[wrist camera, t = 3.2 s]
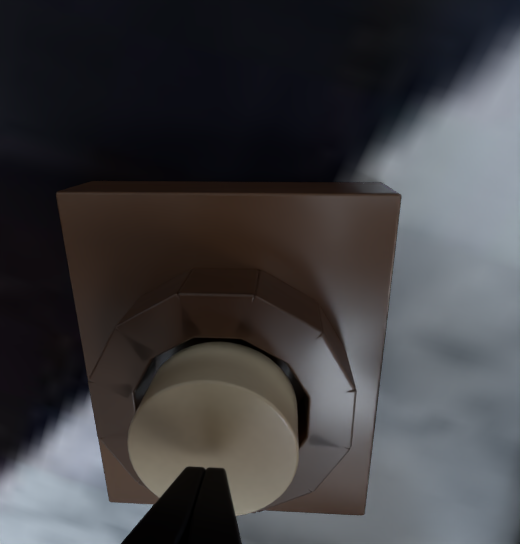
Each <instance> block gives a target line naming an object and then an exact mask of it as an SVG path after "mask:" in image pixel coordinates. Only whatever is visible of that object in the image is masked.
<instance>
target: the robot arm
mask: <svg viewBox="0 0 520 544" xmlns="http://www.w3.org/2000/svg"><path fill="white" fill-rule="evenodd" d="M121 544H242V543H241V538H240V533H239V529H238V524H237V520H236V515H235V510H234V506H233V501H232V497H231V492H230V488H229V483H228V478H227V474H226V470H225V469H224V468H216V467H208V468H207V469H205V468H204V467H195V466H188V467H186V468H185V469H184V470H183V471H182V472H181V473H180V475H179V476H178V477H177V478H176V479H175V480H174V482H173V483H172V484H171V485H170V486H169V488H168V489H167V490H166V491H165V492H164V493H163V495H162V496H161V497H160V498H159V499H158V501H157V502H156V503H155V504H154V505H153V506H152V508H151V509H150V510H149V511H148V512H147V513H146V515H145V516H144V517H143V518H142V519H141V521H140V522H139V523H138V524H137V525H136V526H135V528H134V529H133V530H132V531H131V532H130V534H129V535H128V536H127V537H126V538H125V539H124V541H123V542H122V543H121Z"/></svg>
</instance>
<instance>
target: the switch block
mask: <svg viewBox="0 0 520 544" xmlns="http://www.w3.org/2000/svg"><path fill="white" fill-rule="evenodd" d="M56 198H57V204H58V210H59V216H60V221H61V227H62V233H63V239H64V244H65V250H66V256H67V262H68V267H69V273H70V279H71V285H72V290H73V296H74V302H75V307H76V313H77V319H78V325H79V330H80V336H81V342H82V348H83V353H84V359H85V365H86V371H87V376H88V384H89V390H90V396H91V401H92V407H93V413H94V419H95V424H96V430H97V436H98V439H99V445H100V451H101V457H102V462H103V468H104V474H105V480H106V485H107V491H108V497H109V501H110V502H118V503H136V504H155V503H156V502H157V501H158V499H159V497H158V496H156V495H155V494H154V493H153V492H152V491H150V490H149V488H148V487H147V486H146V485H145V484H144V483H143V482H142V481H141V479H140V478H139V477H138V475H137V473H136V471H135V470H134V468H133V465H132V463H131V460H130V457H129V452H128V441H127V439H128V430H129V427H130V423H131V421H132V419H133V416H134V414H135V412H136V410H137V409H138V407H139V405H140V403H141V401H142V399H143V397H144V395H145V393H146V391H147V390H148V388H149V386H150V384H151V382H152V380H153V378H154V376H155V374H156V373H157V371H158V370H159V368H160V367H161V366H162V365H163V363H164V362H165V361H166V360H167V359H169V358H170V357H171V356H172V355H174V354H175V353H177V352H179V351H181V350H182V349H185V348H187V347H190V346H192V345H196V344H200V343H206V342H231V343H236V344H241V345H244V346H247V347H250V348H252V349H254V350H256V351H259V352H260V353H262V354H264V355H265V356H267V357H268V358H270V359H271V360H272V361H273V362H275V363H276V364H277V365H278V366H279V367H280V368H281V369H282V370H283V372H284V373H285V374H286V376H287V377H288V379H289V381H290V382H291V384H292V386H293V389H294V392H295V395H296V399H297V413H298V440H299V461H298V467H297V470H296V474H295V476H294V478H293V480H292V482H291V484H290V485H289V486H288V488H287V489H286V491H285V492H284V493H283V494H282V495H281V496H280V497H279V498H278V499H276V500H275V501H274V502H272V503H271V504H269V505H267V506H266V507H264V508H262V509H260V510H257V511H255V512H252V513H256V512H261V511H264V510H268V511H287V512H306V513H324V514H343V515H364V514H365V506H366V498H367V489H368V480H369V472H370V463H371V455H372V446H373V437H374V429H375V420H376V411H377V403H378V394H379V386H380V377H381V368H382V360H383V351H384V343H385V334H386V325H387V317H388V308H389V299H390V291H391V282H392V274H393V265H394V256H395V248H396V239H397V230H398V222H399V213H400V205H401V194H399V193H398V192H396V191H394V190H393V189H391V188H390V187H388V186H386V185H385V184H383V183H381V182H193V181H91V182H88V183H84V184H81V185H78V186H74V187H71V188H67V189H64V190H60V191H58V192H56Z"/></svg>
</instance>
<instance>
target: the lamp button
mask: <svg viewBox="0 0 520 544" xmlns="http://www.w3.org/2000/svg"><path fill="white" fill-rule="evenodd" d="M127 441H128V452H129V457H130V460H131V463H132V465H133V468H134V470H135V471H136V473H137V475H138V477H139V478H140V479H141V481H142V482H143V483H144V484H145V485H146V486H147V487H148V488H149V490H150V491H152V492H153V493H154V494H155V495H156V496H158V497H159V498H160V497H161V496H162V495H163V493H164V492H165V491H166V490H167V489H168V488H169V486H170V485H171V484H172V483H173V482H174V480H175V479H176V478H177V477H178V476H179V475H180V473H181V472H182V471H183V470H184V469H185V468H186V467H188V466H195V467H204V468H205V469H207V468H208V467H216V468H224V469H225V470H226V474H227V478H228V483H229V488H230V492H231V497H232V501H233V506H234V510H235V515H236V516H240V515H245V514H249V513H252V512H255V511H257V510H260V509H262V508H264V507H266V506H267V505H269V504H271V503H272V502H274V501H275V500H276V499H278V498H279V497H280V496H281V495H282V494H283V493H284V492H285V491H286V489H287V488H288V486H289V485H290V484H291V482H292V480H293V478H294V476H295V474H296V470H297V467H298V461H299V440H298V413H297V399H296V395H295V392H294V389H293V386H292V384H291V382H290V381H289V379H288V377H287V376H286V374H285V373H284V372H283V370H282V369H281V368H280V367H279V366H278V365H277V364H276V363H275V362H273V361H272V360H271V359H270V358H268V357H267V356H265V355H264V354H262V353H260V352H259V351H256V350H254V349H252V348H250V347H247V346H244V345H241V344H236V343H231V342H206V343H200V344H196V345H192V346H190V347H187V348H185V349H182V350H181V351H179V352H177V353H175V354H174V355H172V356H171V357H170V358H169V359H167V360H166V361H165V362H164V363H163V365H162V366H161V367H160V368H159V370H158V371H157V373H156V374H155V376H154V378H153V380H152V382H151V384H150V386H149V388H148V390H147V391H146V393H145V395H144V397H143V399H142V401H141V403H140V405H139V407H138V409H137V410H136V412H135V414H134V416H133V419H132V421H131V423H130V427H129V430H128V439H127Z"/></svg>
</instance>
